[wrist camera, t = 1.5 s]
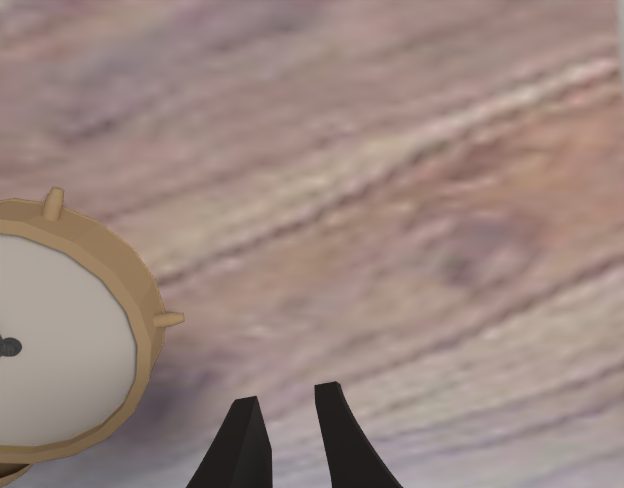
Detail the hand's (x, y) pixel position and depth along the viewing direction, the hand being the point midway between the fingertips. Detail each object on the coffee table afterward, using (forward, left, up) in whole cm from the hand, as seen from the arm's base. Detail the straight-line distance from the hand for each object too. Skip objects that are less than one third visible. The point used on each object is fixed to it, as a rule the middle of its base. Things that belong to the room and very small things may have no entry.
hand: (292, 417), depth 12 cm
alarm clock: (0, +13, -9) cm, 16 cm away
